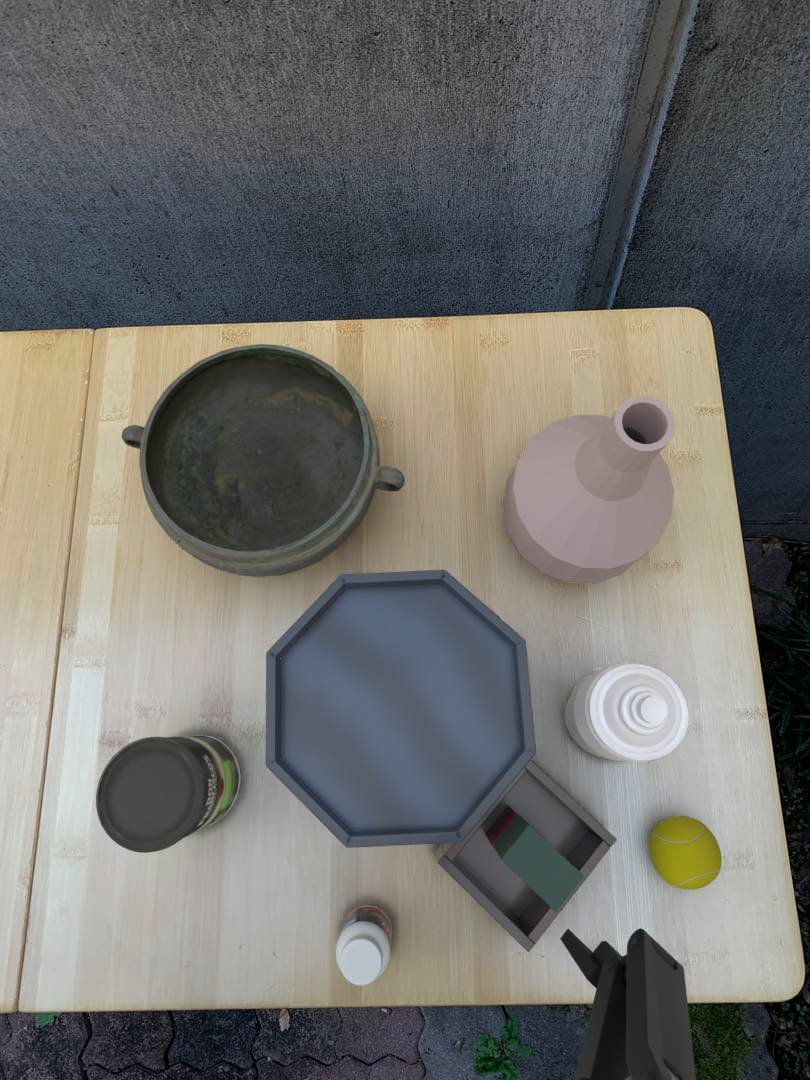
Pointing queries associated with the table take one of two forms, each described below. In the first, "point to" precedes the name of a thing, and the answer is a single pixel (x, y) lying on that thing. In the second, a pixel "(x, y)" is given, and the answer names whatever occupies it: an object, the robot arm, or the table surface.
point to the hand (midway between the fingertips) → (507, 1048)
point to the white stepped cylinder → (627, 713)
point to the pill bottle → (364, 945)
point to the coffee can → (166, 790)
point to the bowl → (260, 460)
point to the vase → (592, 492)
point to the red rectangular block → (500, 825)
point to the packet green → (537, 862)
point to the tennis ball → (685, 852)
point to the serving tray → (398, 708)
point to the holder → (499, 883)
